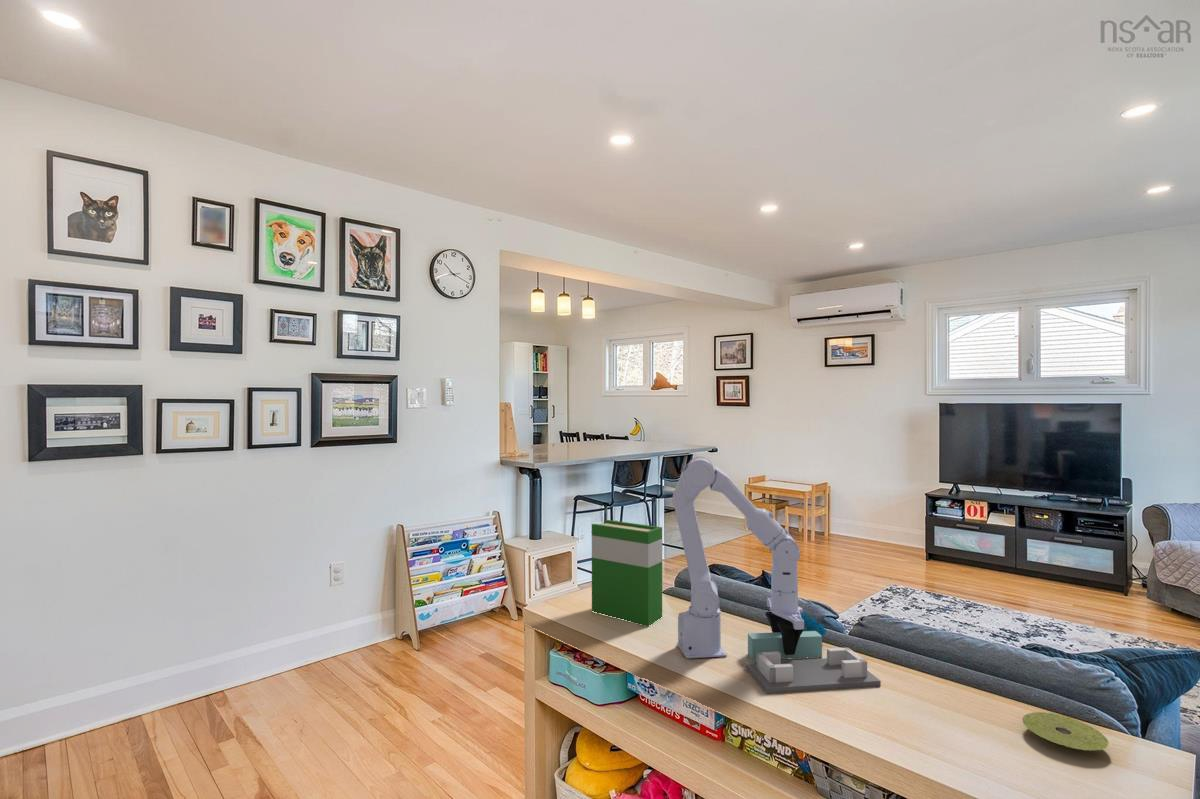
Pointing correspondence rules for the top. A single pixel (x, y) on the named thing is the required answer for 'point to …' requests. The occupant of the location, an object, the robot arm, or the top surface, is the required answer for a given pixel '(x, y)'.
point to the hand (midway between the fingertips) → (784, 649)
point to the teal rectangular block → (773, 642)
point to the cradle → (811, 672)
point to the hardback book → (627, 571)
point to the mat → (1065, 731)
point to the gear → (812, 624)
